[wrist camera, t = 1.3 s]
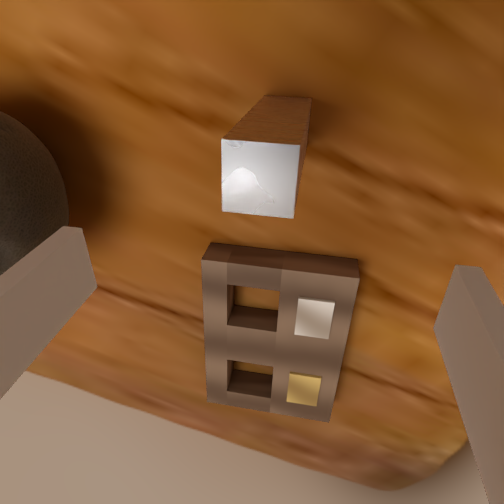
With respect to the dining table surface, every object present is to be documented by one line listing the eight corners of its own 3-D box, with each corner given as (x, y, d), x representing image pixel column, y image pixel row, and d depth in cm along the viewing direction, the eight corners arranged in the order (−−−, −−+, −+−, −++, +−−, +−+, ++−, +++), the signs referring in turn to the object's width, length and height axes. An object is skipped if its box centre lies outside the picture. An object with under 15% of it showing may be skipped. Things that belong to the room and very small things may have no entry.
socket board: (210, 242, 35) (200, 261, 32) (357, 259, 33) (360, 280, 30) (214, 379, 44) (206, 404, 41) (329, 398, 42) (329, 425, 39)
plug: (264, 95, 28) (221, 139, 16) (311, 98, 27) (300, 145, 16) (262, 142, 29) (222, 211, 18) (306, 146, 29) (293, 218, 18)
